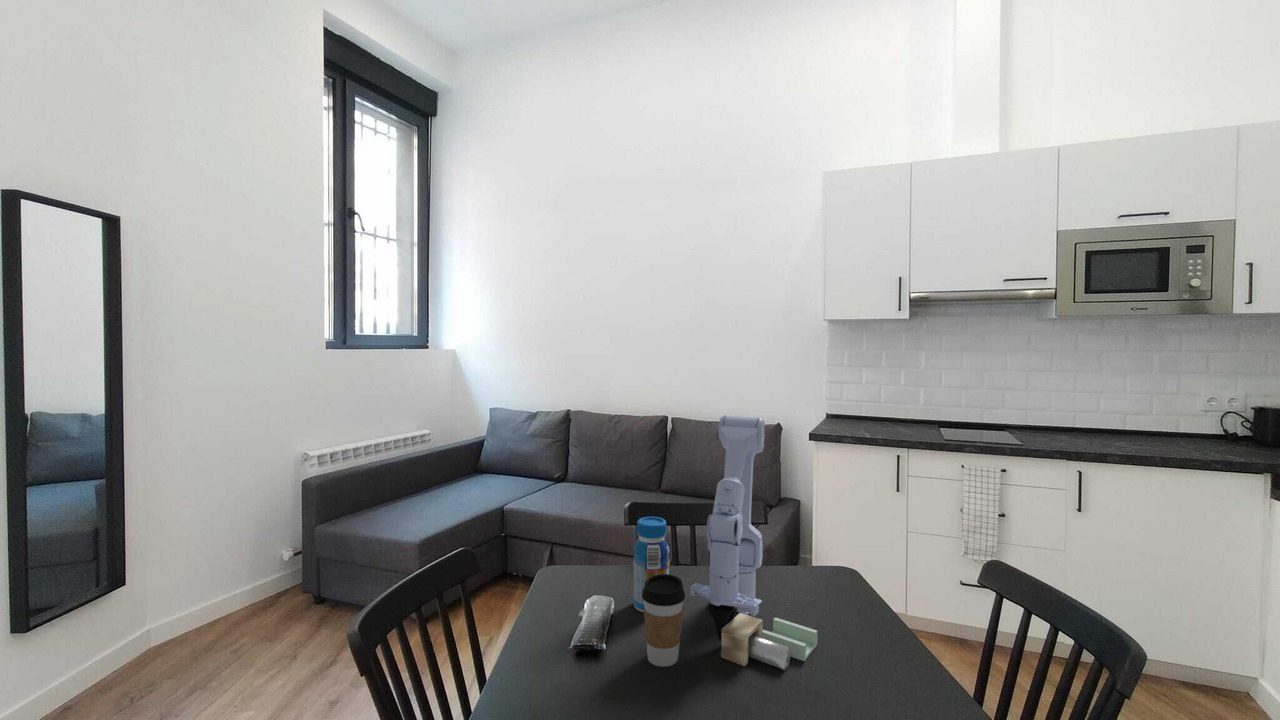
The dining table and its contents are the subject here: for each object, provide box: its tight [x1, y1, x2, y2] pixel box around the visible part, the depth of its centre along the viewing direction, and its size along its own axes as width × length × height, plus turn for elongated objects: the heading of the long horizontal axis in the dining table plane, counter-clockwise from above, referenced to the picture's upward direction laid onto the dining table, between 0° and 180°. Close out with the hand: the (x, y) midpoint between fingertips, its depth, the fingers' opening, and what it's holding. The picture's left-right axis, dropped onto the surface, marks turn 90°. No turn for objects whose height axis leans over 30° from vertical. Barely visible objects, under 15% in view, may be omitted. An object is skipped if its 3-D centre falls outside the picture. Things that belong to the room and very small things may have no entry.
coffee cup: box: [642, 573, 686, 668], centre depth 111 cm, size 8×8×15 cm
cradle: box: [763, 617, 818, 662], centre depth 116 cm, size 9×7×3 cm
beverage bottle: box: [632, 516, 671, 613], centre depth 132 cm, size 8×8×20 cm
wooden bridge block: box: [720, 612, 764, 667], centre depth 113 cm, size 5×8×6 cm, turn 144°
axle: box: [748, 634, 791, 671], centre depth 111 cm, size 12×4×4 cm, turn 54°
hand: (723, 638), depth 115 cm, fingers closed
